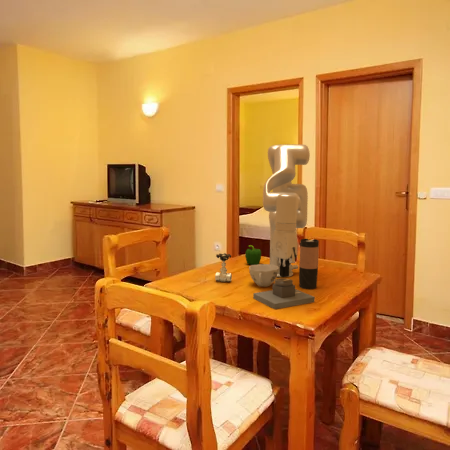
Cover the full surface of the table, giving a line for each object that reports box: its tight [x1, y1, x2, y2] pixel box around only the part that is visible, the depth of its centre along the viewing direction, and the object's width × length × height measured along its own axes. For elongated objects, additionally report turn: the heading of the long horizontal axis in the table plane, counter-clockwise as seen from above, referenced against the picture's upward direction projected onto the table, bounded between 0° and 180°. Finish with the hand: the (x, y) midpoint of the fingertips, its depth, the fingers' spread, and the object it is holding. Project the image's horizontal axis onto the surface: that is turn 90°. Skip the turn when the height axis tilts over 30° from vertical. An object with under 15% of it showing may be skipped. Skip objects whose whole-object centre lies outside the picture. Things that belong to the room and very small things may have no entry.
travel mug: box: [298, 238, 320, 290], centre depth 172 cm, size 8×8×20 cm
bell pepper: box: [245, 244, 262, 266], centre depth 213 cm, size 8×8×10 cm
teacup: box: [248, 263, 279, 288], centre depth 174 cm, size 15×12×8 cm
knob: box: [272, 277, 296, 298], centre depth 154 cm, size 7×7×6 cm
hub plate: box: [253, 288, 315, 310], centre depth 154 cm, size 18×14×6 cm
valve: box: [215, 252, 232, 283], centre depth 179 cm, size 7×7×12 cm
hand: (284, 276), depth 153 cm, fingers closed
